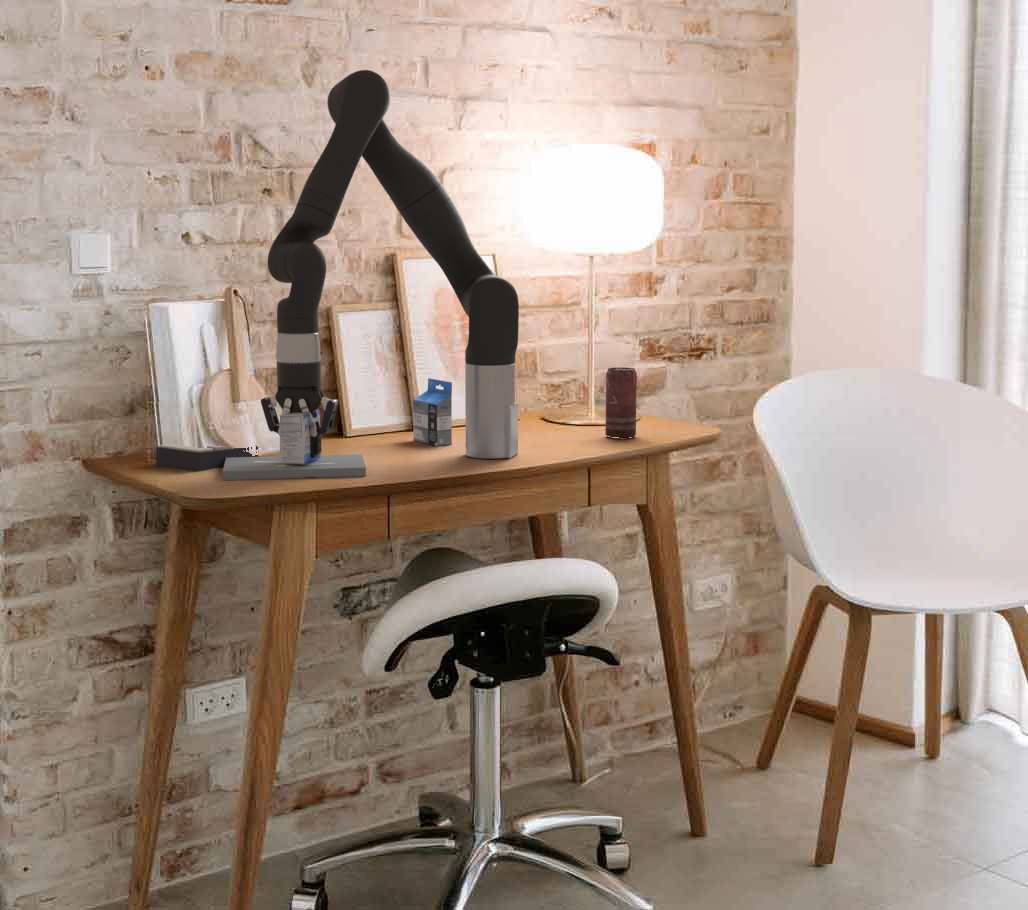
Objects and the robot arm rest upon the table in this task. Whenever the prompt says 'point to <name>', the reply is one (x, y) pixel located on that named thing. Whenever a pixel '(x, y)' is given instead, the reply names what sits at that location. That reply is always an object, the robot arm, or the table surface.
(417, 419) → the label tape cartridge
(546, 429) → the table surface
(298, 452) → the medicine box
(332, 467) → the slate board
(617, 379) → the can
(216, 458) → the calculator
